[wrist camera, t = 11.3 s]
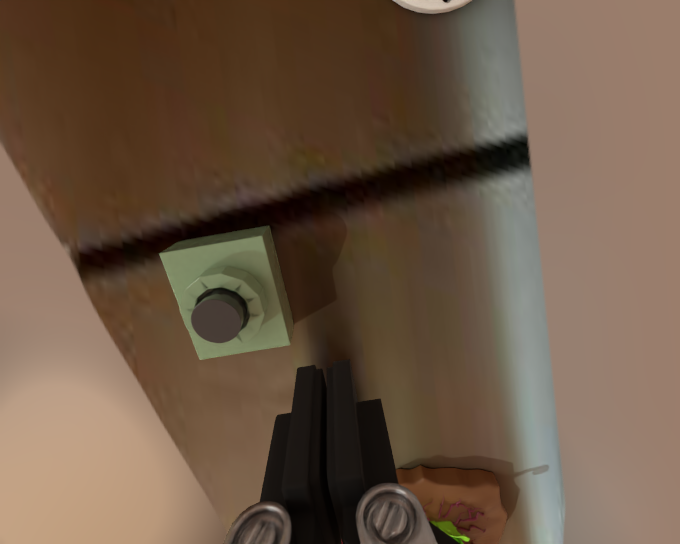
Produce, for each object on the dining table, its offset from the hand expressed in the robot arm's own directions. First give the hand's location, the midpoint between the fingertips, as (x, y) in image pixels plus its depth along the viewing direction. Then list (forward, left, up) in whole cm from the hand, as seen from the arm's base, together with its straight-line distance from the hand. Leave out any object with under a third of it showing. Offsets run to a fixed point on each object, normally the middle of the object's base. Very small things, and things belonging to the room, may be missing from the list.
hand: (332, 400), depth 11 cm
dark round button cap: (+4, -10, -18) cm, 20 cm away
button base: (+4, -10, -23) cm, 25 cm away
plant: (+43, +7, -23) cm, 49 cm away
